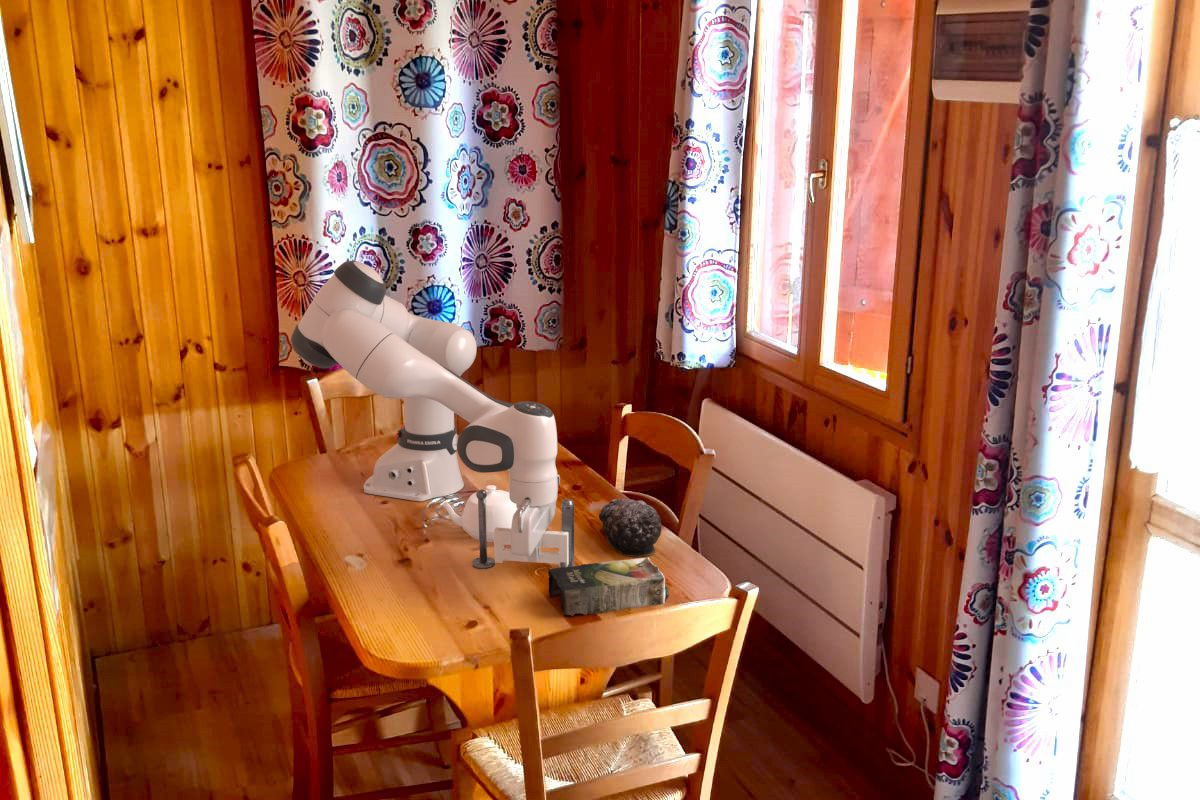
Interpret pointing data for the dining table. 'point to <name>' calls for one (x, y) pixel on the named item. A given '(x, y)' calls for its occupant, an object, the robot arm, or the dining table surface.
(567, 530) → the latch post
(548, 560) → the gate
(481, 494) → the hinge post
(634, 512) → the pine cone
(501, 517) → the teapot
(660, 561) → the dining table surface
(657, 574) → the juice carton
